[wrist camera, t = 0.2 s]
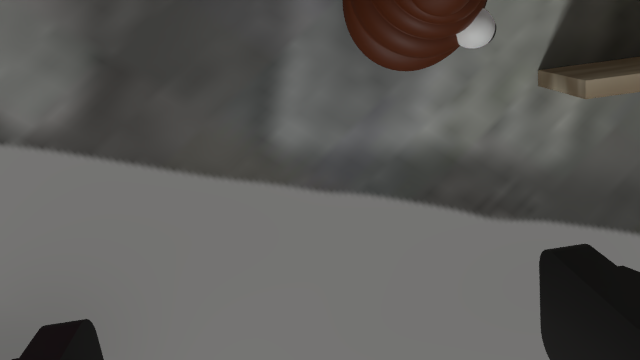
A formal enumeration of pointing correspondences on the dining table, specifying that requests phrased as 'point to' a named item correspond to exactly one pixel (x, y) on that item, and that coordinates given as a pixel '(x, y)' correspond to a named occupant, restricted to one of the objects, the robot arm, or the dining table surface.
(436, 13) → the poop emoji
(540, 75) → the birch holder
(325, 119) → the dining table surface
